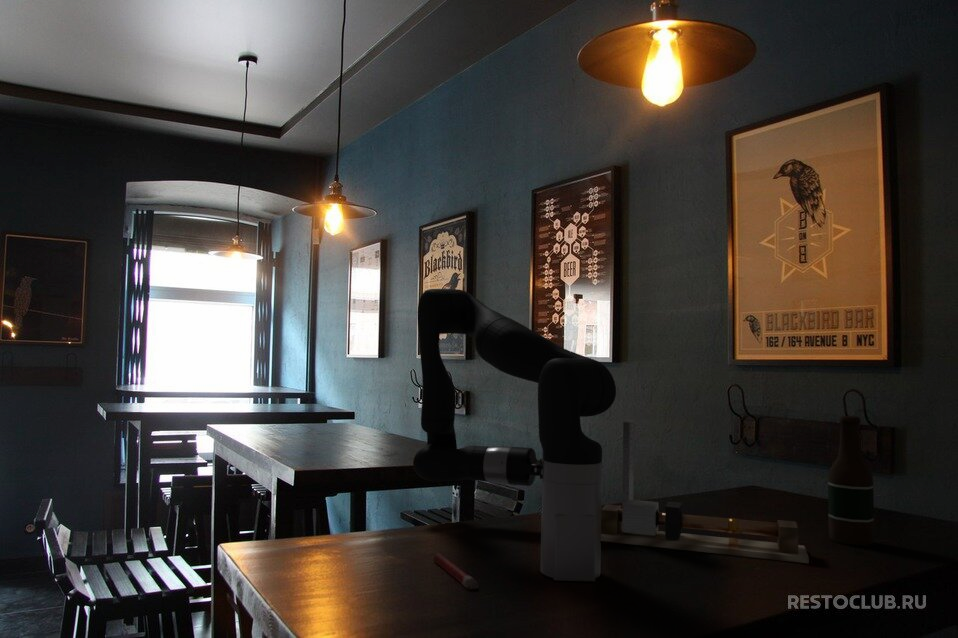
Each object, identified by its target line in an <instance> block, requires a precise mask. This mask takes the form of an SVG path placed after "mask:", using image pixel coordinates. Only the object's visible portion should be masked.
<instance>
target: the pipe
mask: <svg viewBox="0 0 958 638" xmlns="http://www.w3.org/2000/svg"><path fill="white" fill-rule="evenodd" d="M622 516H623V508H622V509H620V508H619V512H618V520H619V521H620V522H622ZM656 525H658V526H663V527H665V512H661V511H658V512H656ZM679 527H681V529H682V528H683V529H693V530H704V531H711V532H712V531H714V532H722V533H729V534H738V535H739V534H743V535H751V536H752V535H753V536H763V537H774V538H778V537H779V524H778V522H771V521H770V522H769V521H759V520H749V519H748V520H747V519H739V518H735V517H728V518H727V517H726V518H725V517H717V516H716V517H715V516H705V515H695V514H684V513H681V514H680V522H679Z"/></svg>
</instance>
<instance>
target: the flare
mask: <svg viewBox="0 0 958 638" xmlns="http://www.w3.org/2000/svg"><path fill="white" fill-rule="evenodd" d="M433 556H434V557H433V561H434V563H435V564H436V565H438V566H439V567H440V568H441V569H443V570H444V572H446V573H448V574H449V575H450V576H451V577H452V578H454V580H456V581H458V582H459V583H460V584H461V585H462V586H463V587H464V588H465V589H467V590H477V589H478V588H479V583H478V581H477V580H476V579H475V578H473V577H472V576H471V575H469V574H467V573H466V572H465V571H464V570H462V568H460V567H459V566H457V565H456V564H455V563H453V562H452V561H451V560H449V558H447V557H446V556H444V554H442V553H440V552H439V553H435V554H434V555H433Z"/></svg>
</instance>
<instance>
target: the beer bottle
mask: <svg viewBox="0 0 958 638" xmlns="http://www.w3.org/2000/svg"><path fill="white" fill-rule="evenodd" d="M838 422H839V423H840V431H839V432H840V435H839V449H838V454H837V458H836V459H835V460H834V461H833V463H832V464H831V466H830V469H829V471H828V477H827V478H828V479H827V480H828V481H827V488H828V489H827V491H828V493H827V494H828V495H827V498H828V500H827V503H828V504H827V505H828V506H827V507H828V508H827V509H828V515H827V516H828V519H827V520H828V538H829V540H831V541H833V542H834V543H836V544H840V545H841V544H842V545H846V546H852V547H868V546H871V545H874V538H875V520H874V519H875V513H874V512H875V511H874V510H875V508H874V506H875V505H874V504H875V503H874V501H875V500H874V494H875V493H874V479H873V478H874V477H873V474H872V472H871V469H870V467H869V466H868V464H867V462H866V461H865V460H864V458H863V457H864V456H863V454H862V446H861V445H862V444H861V432H860V431H861V430H860V424H861V423H862V421H861V419H860V417H858V416H852V415H842V416H839V419H838Z"/></svg>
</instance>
